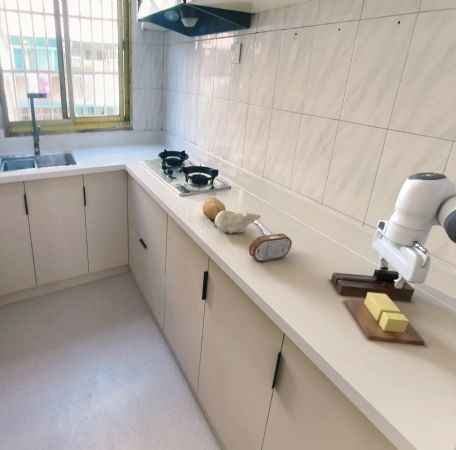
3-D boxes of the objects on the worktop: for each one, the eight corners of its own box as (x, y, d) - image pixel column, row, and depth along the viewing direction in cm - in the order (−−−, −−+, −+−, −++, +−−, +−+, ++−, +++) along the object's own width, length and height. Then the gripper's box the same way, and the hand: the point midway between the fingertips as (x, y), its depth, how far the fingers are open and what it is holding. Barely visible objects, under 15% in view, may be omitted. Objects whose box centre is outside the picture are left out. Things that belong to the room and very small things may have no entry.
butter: (381, 304, 88) (385, 293, 87) (396, 322, 82) (400, 311, 80) (363, 303, 89) (367, 292, 87) (376, 320, 82) (381, 309, 81)
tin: (284, 253, 115) (289, 231, 111) (290, 257, 112) (295, 235, 109) (246, 259, 110) (250, 236, 107) (252, 264, 107) (256, 240, 104)
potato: (205, 225, 134) (207, 206, 131) (198, 212, 147) (199, 194, 144) (229, 225, 135) (231, 206, 132) (220, 212, 148) (222, 195, 145)
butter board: (391, 307, 89) (392, 303, 89) (423, 345, 77) (425, 341, 76) (344, 302, 90) (345, 299, 90) (368, 339, 78) (369, 335, 77)
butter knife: (266, 235, 126) (273, 235, 126) (245, 211, 148) (251, 211, 148) (265, 236, 126) (273, 236, 127) (245, 212, 148) (251, 212, 148)
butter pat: (398, 325, 81) (403, 313, 80) (404, 332, 79) (409, 320, 77) (378, 323, 81) (383, 311, 80) (383, 330, 79) (388, 318, 78)
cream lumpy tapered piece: (205, 234, 131) (229, 223, 118) (205, 217, 133) (228, 204, 121) (237, 241, 137) (263, 231, 124) (236, 225, 139) (262, 213, 127)
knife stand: (396, 287, 98) (400, 275, 97) (410, 301, 92) (415, 289, 90) (330, 280, 100) (333, 269, 99) (339, 294, 94) (343, 283, 92)
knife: (398, 289, 96) (405, 271, 93) (402, 293, 94) (409, 275, 92) (338, 283, 97) (343, 266, 95) (340, 287, 96) (345, 269, 93)
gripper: (445, 253, 78) (424, 302, 84) (398, 220, 97) (383, 261, 103) (416, 251, 79) (397, 300, 85) (375, 218, 98) (361, 259, 103)
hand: (389, 278), depth 94 cm, fingers open, 6 cm apart
